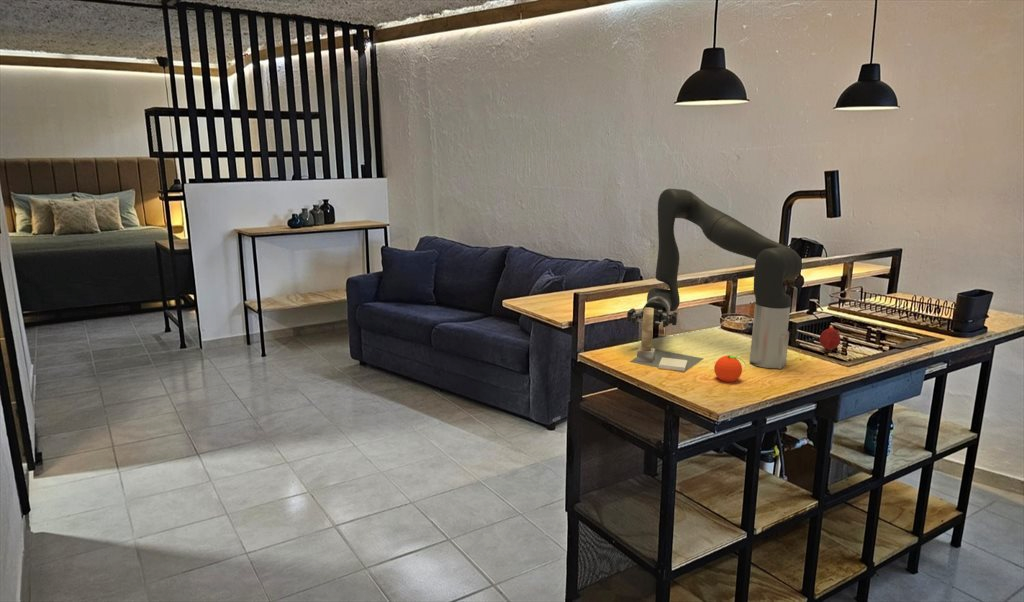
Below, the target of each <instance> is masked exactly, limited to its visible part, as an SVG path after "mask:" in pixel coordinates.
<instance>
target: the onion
mask: <svg viewBox="0 0 1024 602" xmlns="http://www.w3.org/2000/svg"><path fill="white" fill-rule="evenodd" d="M819 343H820V345H821V347H823V349H825V350H826V349H827V350H831V351H832V349H833V350H834V349H836V348H837V347H838V346H840V344H841V335H840V333H839V332H838V331H837V330H836V329H835V328H834V325H831V324H830V325H829V327H828V328H827V329H824V330H823V331H822V332H821V333H820V336H819ZM827 350H826V351H827Z"/></svg>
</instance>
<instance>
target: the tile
mask: <svg viewBox="0 0 1024 602" xmlns="http://www.w3.org/2000/svg"><path fill="white" fill-rule="evenodd" d="M686 366H687V360H681V359H672V358H663V357H662V359H661V361H660V363H659V368H658V369H659V370H666V371H672V370H673V371H672V372H676V371H682V372H685V370H686ZM685 373H686V372H685Z"/></svg>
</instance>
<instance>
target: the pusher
mask: <svg viewBox="0 0 1024 602" xmlns="http://www.w3.org/2000/svg"><path fill="white" fill-rule="evenodd" d="M653 314H654V308H650V307H645V308H644V311H643V322H642V328H641V329H642V330H641V331H642V332H641V346H639V347H638V349H637V351H636V358H637V361H641V362H650V363H652V362H653V360H654V358H655V349H656V348H654V347H652V342H653V331H654V330H653V328H654V325H653Z"/></svg>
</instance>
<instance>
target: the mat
mask: <svg viewBox="0 0 1024 602" xmlns="http://www.w3.org/2000/svg"><path fill="white" fill-rule="evenodd" d="M662 357H663V358H672V359H681V360H687V366H686V370H685V372H682V371H675V372H677V373H683V374H685V373H686V372H687V371H689V370H690V369H692V368H693V367H694V366H696V365H697V364H699V363H700V362H701V361H703V360H704V359H705V358H703V357H699V356H698V357H697V356H694V355H687V354H682V353H678V352H677V353H676V352H671V351H667V350H661V349H660V350H659V349H656V348H655V358H654V360H653V362H652V363H650V362H641V361H637V357H635V358H633V359H632V360H630V361H629V362H630V363H633V364H637V365H643V366H647V367H653V368H658V369H659V363H660V361H661V359H662ZM671 371H672V372H674V371H673V370H671Z"/></svg>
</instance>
